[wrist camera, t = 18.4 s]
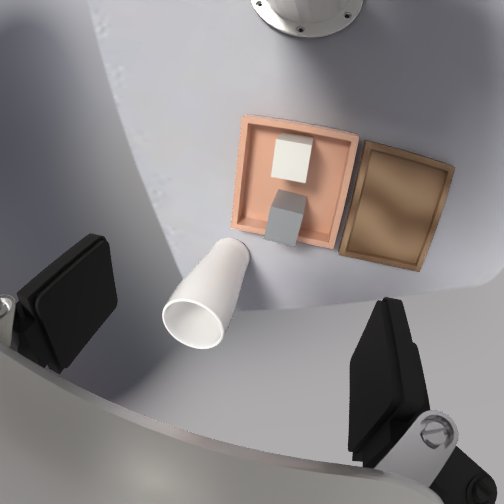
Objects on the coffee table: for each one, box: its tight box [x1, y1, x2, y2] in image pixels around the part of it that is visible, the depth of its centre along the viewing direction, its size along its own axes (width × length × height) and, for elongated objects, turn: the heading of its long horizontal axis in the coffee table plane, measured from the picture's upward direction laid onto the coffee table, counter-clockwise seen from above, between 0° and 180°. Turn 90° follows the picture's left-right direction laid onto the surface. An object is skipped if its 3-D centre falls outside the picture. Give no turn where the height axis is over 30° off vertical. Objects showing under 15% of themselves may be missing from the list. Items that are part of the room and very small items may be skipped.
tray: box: [338, 140, 455, 272], centre depth 34 cm, size 14×11×1 cm
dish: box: [231, 114, 359, 249], centre depth 35 cm, size 13×12×3 cm
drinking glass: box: [162, 238, 250, 349], centre depth 37 cm, size 7×7×15 cm
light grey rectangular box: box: [271, 132, 314, 183], centre depth 31 cm, size 4×3×6 cm
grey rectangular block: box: [264, 189, 307, 247], centre depth 35 cm, size 4×3×6 cm
